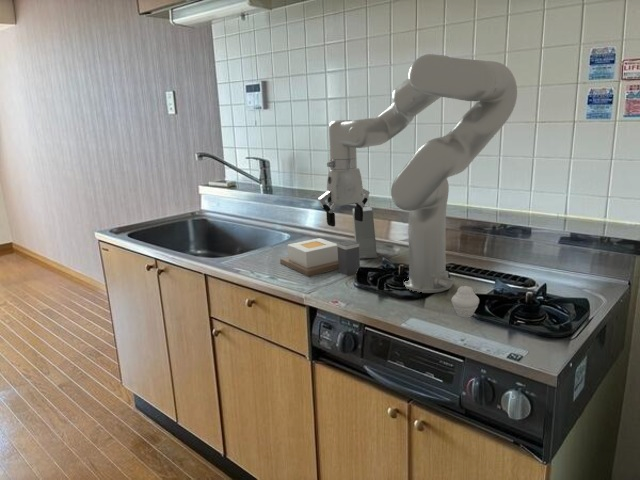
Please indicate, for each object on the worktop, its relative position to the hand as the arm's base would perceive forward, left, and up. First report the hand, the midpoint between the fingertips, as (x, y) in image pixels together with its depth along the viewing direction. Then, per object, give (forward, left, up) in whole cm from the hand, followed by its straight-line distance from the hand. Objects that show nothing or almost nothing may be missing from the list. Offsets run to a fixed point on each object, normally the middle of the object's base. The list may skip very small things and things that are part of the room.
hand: (345, 223), depth 149 cm
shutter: (+13, +4, -9) cm, 17 cm away
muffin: (-45, -2, -15) cm, 47 cm away
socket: (+13, +4, -15) cm, 20 cm away
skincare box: (+10, -14, -15) cm, 23 cm away
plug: (-1, 0, -15) cm, 15 cm away
